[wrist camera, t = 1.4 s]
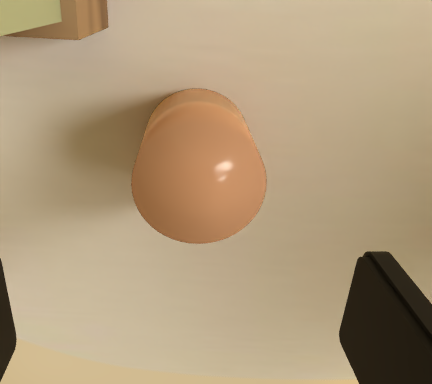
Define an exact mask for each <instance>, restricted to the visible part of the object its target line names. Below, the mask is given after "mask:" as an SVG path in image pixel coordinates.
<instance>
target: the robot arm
mask: <svg viewBox="0 0 432 384" xmlns="http://www.w3.org/2000/svg"><path fill="white" fill-rule="evenodd" d="M339 337H340V343H341V345H342V347H343V350H344V352H345V354H346V356H347V358H348V360H349V363H350V365H351V367H352V369H353V371H354V373H355V376H356V378H357V380H358V382H359V384H432V304H431V303H430V302H429V300H428V299H427V298H426V297H425V295H424V294H423V293H422V292H421V291H420V289H419V288H418V287H417V286H416V284H415V283H414V282H413V281H412V279H411V278H410V277H409V276H408V275H407V273H406V272H405V271H404V270H403V268H402V267H401V266H400V265H399V263H398V262H397V261H396V260H395V259H394V257H393V256H392V255H391V254H390V253H389V252H366V253H365V254H364V255H363V257H359V258H358V260H357V263H356V267H355V271H354V275H353V279H352V283H351V287H350V291H349V295H348V299H347V303H346V307H345V311H344V315H343V319H342V323H341V327H340V331H339ZM15 347H16V332H15V327H14V322H13V317H12V312H11V307H10V302H9V297H8V292H7V287H6V282H5V277H4V272H3V267H2V262H1V259H0V381H1V379H2V377H3V374H4V373H5V370H6V368H7V366H8V364H9V361H10V359H11V357H12V355H13V353H14V350H15Z"/></svg>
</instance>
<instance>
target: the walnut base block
mask: <svg viewBox="0 0 432 384" xmlns="http://www.w3.org/2000/svg"><path fill="white" fill-rule="evenodd" d="M60 8H61V18H62V22H58V23H53V24H49V25H45V26H41V27H37V28H32V29H28V30H24V31H20V32H15V33H11V34H7V35H3V36H14V37H33V38H51V39H69V40H80V39H82V38H85V37H87V36H89V35H92V34H94V33H96V32H98V31H101V30H103V29H105V28H108V12H107V0H60Z"/></svg>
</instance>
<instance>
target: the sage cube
mask: <svg viewBox="0 0 432 384" xmlns="http://www.w3.org/2000/svg"><path fill="white" fill-rule="evenodd" d="M58 22H62V18H61V8H60V0H0V36H3V35H7V34H11V33H15V32H20V31H24V30H28V29H32V28H37V27H41V26H45V25H49V24H53V23H58Z"/></svg>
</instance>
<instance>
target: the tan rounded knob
mask: <svg viewBox="0 0 432 384" xmlns="http://www.w3.org/2000/svg"><path fill="white" fill-rule="evenodd" d="M131 185H132V194H133V198H134V201H135V204H136V206H137V208H138V210H139V212H140V213H141V215H142V216H143V218H144V219H145V220H146V221H147V222H148V223H149V224H150V225H151V226H152V227H153V228H154V229H156V230H157V231H158V232H160V233H161V234H163V235H165V236H167V237H169V238H171V239H174V240H177V241H181V242H186V243H195V244H201V243H211V242H216V241H219V240H223V239H225V238H228V237H230V236H232V235H234V234H236V233H237V232H239V231H240V230H242V229H243V228H244V227H245V226H246V225H247V224H249V222H250V221H251V220H252V219H253V218H254V217H255V215H256V214H257V212H258V211H259V209H260V207H261V205H262V202H263V199H264V197H265V192H266V172H265V167H264V164H263V161H262V159H261V156H260V154H259V152H258V150H257V147H256V145H255V143H254V140H253V138H252V136H251V134H250V131H249V129H248V127H247V124H246V122H245V120H244V117H243V116H242V114H241V112H240V111H239V109H238V108H237V107H236V106H235V105H234V104H233V103H232V102H231V101H230V100H229V99H228V98H226V97H225V96H223V95H221V94H219V93H217V92H214V91H211V90H207V89H187V90H183V91H179V92H177V93H174V94H172V95H170V96H169V97H167V98H166V99H164V100H163V101H162V102H161V103H160V104H159V105H158V106H157V107H156V108H155V110H154V111H153V113H152V114H151V116H150V118H149V121H148V124H147V127H146V130H145V133H144V136H143V139H142V143H141V146H140V149H139V152H138V155H137V158H136V162H135V165H134V168H133V173H132V183H131Z"/></svg>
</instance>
